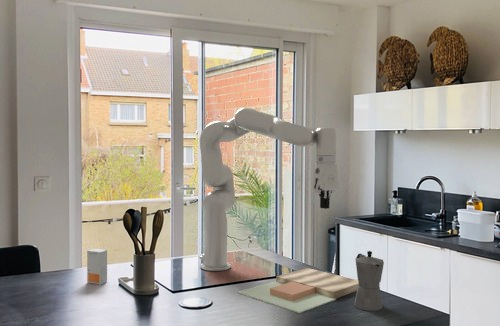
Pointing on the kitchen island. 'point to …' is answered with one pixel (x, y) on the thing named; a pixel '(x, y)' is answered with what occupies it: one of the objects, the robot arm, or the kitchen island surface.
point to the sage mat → (297, 305)
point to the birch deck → (321, 282)
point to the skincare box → (97, 266)
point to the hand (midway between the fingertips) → (324, 208)
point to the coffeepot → (368, 282)
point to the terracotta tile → (292, 291)
